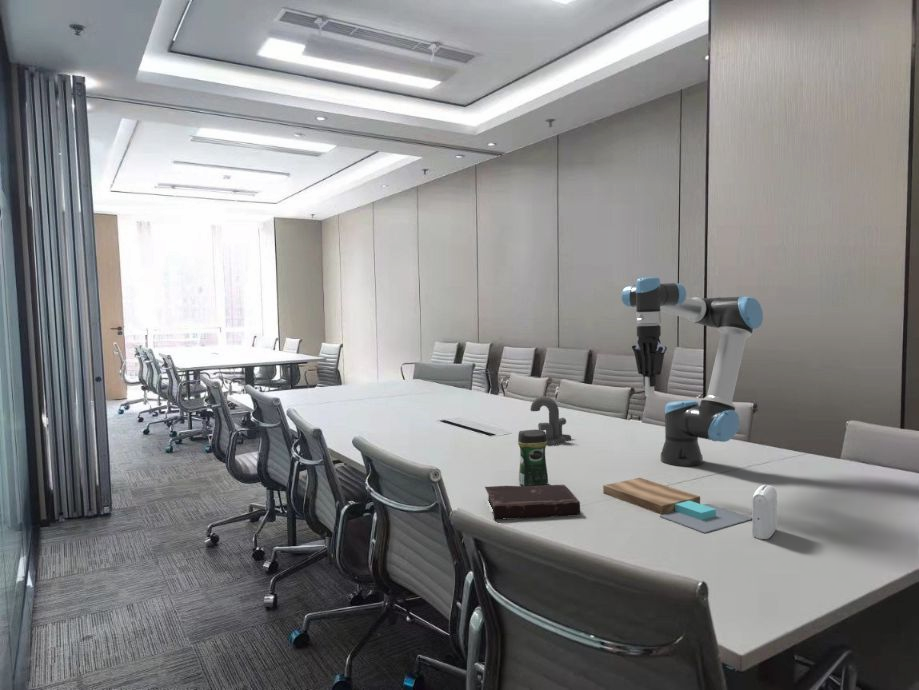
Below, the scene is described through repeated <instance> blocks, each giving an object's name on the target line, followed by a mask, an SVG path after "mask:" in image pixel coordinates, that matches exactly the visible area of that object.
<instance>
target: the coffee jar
mask: <svg viewBox="0 0 919 690" xmlns="http://www.w3.org/2000/svg"><path fill="white" fill-rule="evenodd" d="M517 438H518V439H517V444H518V446H519V450H520V452H519V453H520V455H519V472H518V483H519V484H520V486H543V485H549V475H548V469H547V467H548V466H547V462H546V461H547V460H546V447H547V446H548V445H547V438H546V430H541V429H540V430H539V429H526V430H519V431H518V437H517Z"/></svg>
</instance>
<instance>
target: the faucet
mask: <svg viewBox="0 0 919 690" xmlns="http://www.w3.org/2000/svg"><path fill="white" fill-rule="evenodd" d="M542 407H545V408H547V410H548V422H538V424H537V427H538V430H540V429H541V430H543V431H545V433H546V438H547V445H546V446H551V445H555V446H556V444H557V445H559V444H562V443H564V442H566V441H565V440H567V441H568V439H569V440H571V439H572V436H571V435H570V434H566V433H563V426H564V425H566V424H567V419H566V418H565V417H560V410H559V407H558V404H557V402H556V401H555V400H554V399H553V398H551V397H549V396H547V395H545V396H538V397H536V398H534V400H533V401H532V403H531V405H530V408H529V409H530V411H531V412H540V411H541V408H542ZM570 438H571V439H570ZM563 441H564V442H563ZM561 442H562V443H561ZM558 443H559V444H558Z"/></svg>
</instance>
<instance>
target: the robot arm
mask: <svg viewBox="0 0 919 690" xmlns="http://www.w3.org/2000/svg"><path fill="white" fill-rule="evenodd" d="M620 297H621V302H622V304H623V305H624V306H626V307H631V308H636V312H635V313H636V325H637V326H636V337H637V338H638V339H637V343H636V344H635V345H632V346H631V349H632V350H633V352H634V358H635V363H636V368H637V369H636V370H637V372H638V374H639V375H642V376H643V377H642V378H643V386H644V396H645V397H648V398H649V397H655V387H656V386H657V385H656V381H657V380H656V377H657V376H660V375H661V374H662V369H663V365H664V363H663V362H664V358H665V353H666V351H667V349H668V348H667V346H664V345H663V344H661V340H660V337H661V335H662V333H661V330H662V329H661V328H662V327H661V325H660V324H661V322H662V321H661V313H665V314H668V315H673V316H677V317H681V318H684V319H686V320H687V321H689V322H691V323H694V324H699V325H703V326H706V327H710V328H713V329H714V328H715V329H717V331H718V333H719V334H720V338H719V341H718V345H717V346H718V347H717V350H716V355H715V360H714V363H713V368H712V373H711V376H710V381H709V385H708V390H707V393H706V396H704V398H701V400H700V405H699V402H698V401H697V400H679V401H678V400H675V401H670V402H668V403H666V405H665V409H664V411H665V412H664V426H665V427H664V430H665V431H664V434H665V435H664V439H665V440H664V443H663V447H662V450H661V452H660V461H661V462H662V463H664V464H668V465H671V466H683V467H695V466H699V465H700V466H701V465H702V464H703V462H704V458H703V455H702V452H701V448H700V445H699V441H698V440H699V439H704V440H707V441H712V442H721V443H722V442H723V443H725V442H728V441H730V440H731V439H733V438H734V437H735V436H736V435H737V433H738V430H739V428H740V421H741V420H740V416H739V414H738V412H737V411H736V406H735V405H734V402H733V399H734V396H735V390H736V386H737V381H738V376H739V371H740V367H741V362H742V360H743V355H744V350H745V345H746V342H747V339H748V338H750V337H751V336H752V335H753V330H756V329H758V328H760V326H761V325H762V323H763V319H764V314H763V309H762V306H761V304H760V302H759V300H757V299H756V298H755V297H752V296H744V295H743V296H742V295H741V296H729V297H728V296H727V297H710V298H709V297H708V298H707V297H706V298H702V297H699V296H698V297H697V296H695V297H692V298H691V297H689V296H687V290H686V287H684V285H682V283H677V282H676V283H675V282H670V283H669V282H668V283H666V282H665V283H661V279H660V277H655V276H654V277H653V276H652V277H640V278H638V279H636V282H635V284H633V285H628V286H626V287H624V288H623V290H622V291H621V296H620Z"/></svg>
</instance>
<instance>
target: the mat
mask: <svg viewBox="0 0 919 690" xmlns="http://www.w3.org/2000/svg"><path fill="white" fill-rule="evenodd" d="M703 505H705V506H708V507H711V508H714V509H716V516H715V517H711V518H707V519H704V520H699V519H696V518H694V517H691V516H688V515H685V514H682V513H679V512H677V511H674V512H670V513H666V514H660V515H659V517H660V518H661V517H662V519H664V518H665V519H664V520H668V521H669V522H672V521H673V522H672V523H675V524H677V525H680V524H681V525H680V526H683V527H686V528H687V529H688V528H689V529H691V530H693V531H697V532H699V533H701V534H707V533H712V532H715V531H717V530H721V529H725V528H728V526H729V527H732V526H735V525H739V524H741V522H742V523H746V522H749V521H752V520H751V519H752V517H753V516H752V517H751V516H748V515H745V514H742V513H740V512H739V513H738V512H735V511H733V510H730V509H727V508H723V507H720V506H717V505H713V504H710V503H704V504H703ZM748 520H749V521H748ZM745 521H746V522H745ZM738 523H739V524H738ZM731 525H732V526H731Z"/></svg>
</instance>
